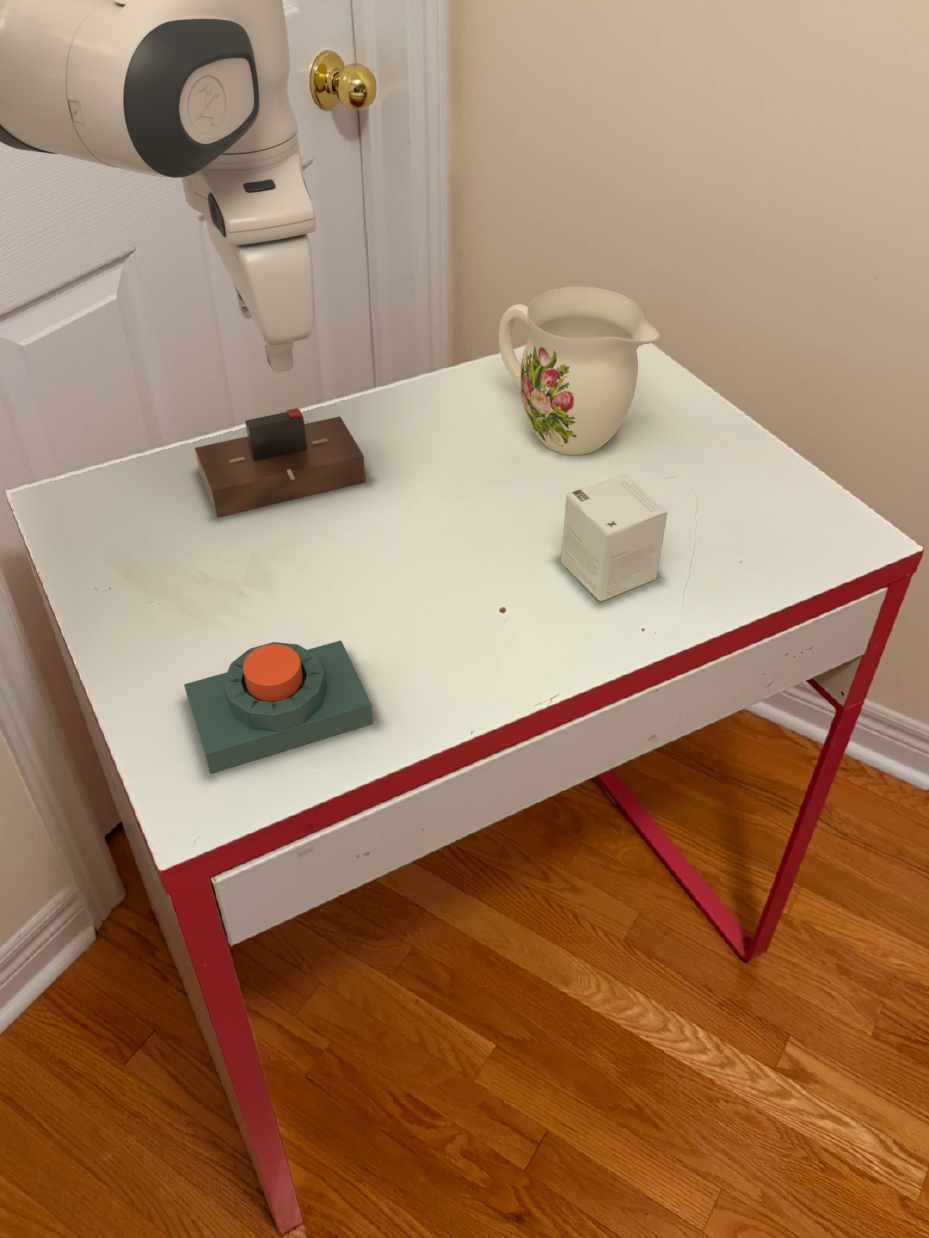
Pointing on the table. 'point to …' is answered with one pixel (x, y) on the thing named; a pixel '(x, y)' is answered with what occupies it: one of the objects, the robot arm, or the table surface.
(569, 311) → the pitcher
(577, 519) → the product carton
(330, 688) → the button block
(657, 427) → the table surface
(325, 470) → the dial panel
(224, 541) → the table surface
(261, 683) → the release button
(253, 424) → the dark brown box
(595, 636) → the table surface
